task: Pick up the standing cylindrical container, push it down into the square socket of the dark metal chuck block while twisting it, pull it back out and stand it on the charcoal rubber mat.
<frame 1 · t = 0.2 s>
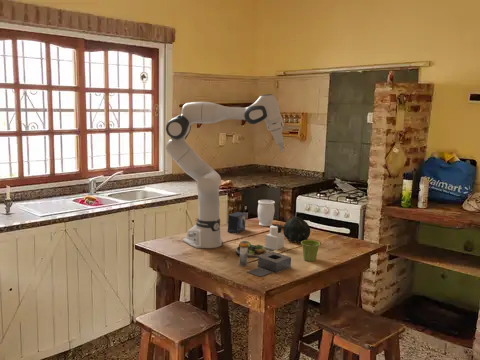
hand: (282, 151, 246), 52 cm above the table, tool tilted 20°, fingers open, 8 cm apart
mat: (259, 272, 218), on the table
squash: (296, 240, 269), on the table
jar: (265, 225, 300), on the table
cylindrical container: (243, 264, 228), on the table
chuck: (274, 267, 226), on the table
plant pot: (309, 260, 238), on the table
medicine bottle: (274, 247, 255), on the table
small box: (236, 231, 284), on the table
salad plate: (251, 253, 247), on the table
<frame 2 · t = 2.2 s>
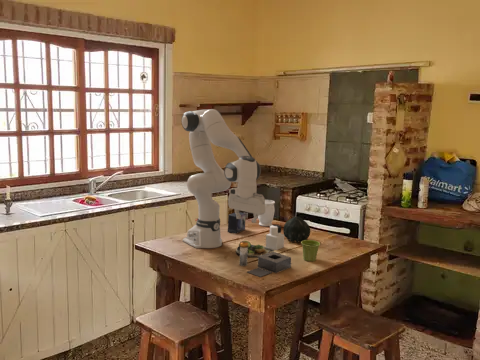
hand: (246, 220, 224), 22 cm above the table, tool pointing down, fingers open, 8 cm apart
nothing on the table moved.
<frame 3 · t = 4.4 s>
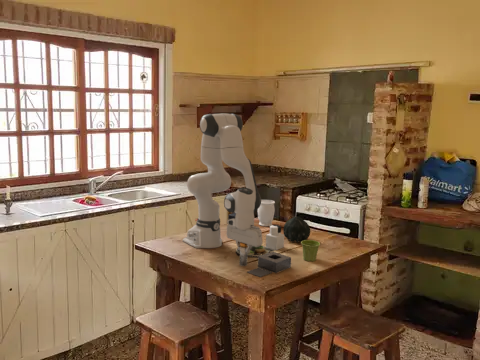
hand: (243, 251, 226), 7 cm above the table, tool pointing down, fingers closed on cylindrical container, 4 cm apart
cylindrical container: (243, 264, 228), on the table, touching gripper
everything else where it was.
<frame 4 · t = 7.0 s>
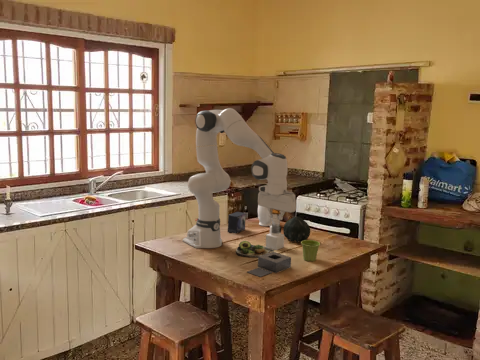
hand: (276, 218, 221), 24 cm above the table, tool pointing down, fingers closed on cylindrical container, 4 cm apart
cylindrical container: (275, 232, 222), point 17 cm above the table, touching gripper
everything else where it was.
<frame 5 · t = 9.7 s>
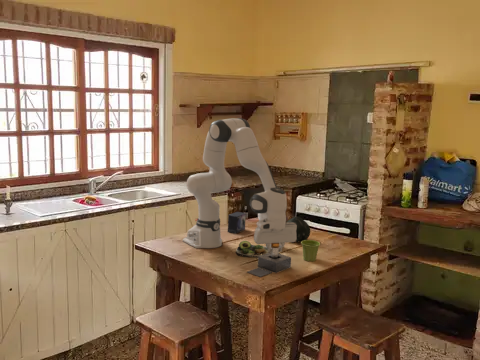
hand: (274, 251, 224), 8 cm above the table, tool pointing down, fingers closed on cylindrical container, 4 cm apart
cylindrical container: (274, 265, 225), point 1 cm above the table, touching gripper
everything else where it was.
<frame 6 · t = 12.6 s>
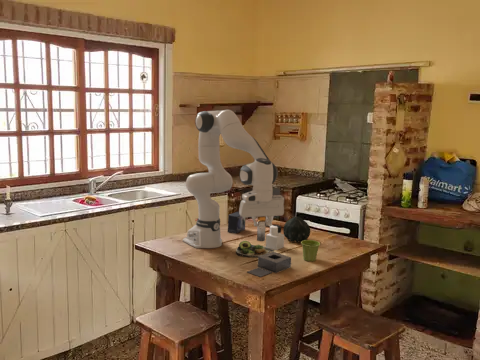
hand: (261, 225, 214), 22 cm above the table, tool pointing down, fingers closed on cylindrical container, 4 cm apart
cylindrical container: (260, 240, 215), point 15 cm above the table, touching gripper
everything else where it was.
when the fingers open (8 cm above the table, at t = 15.3 s): cylindrical container drops 1 cm, resting on mat.
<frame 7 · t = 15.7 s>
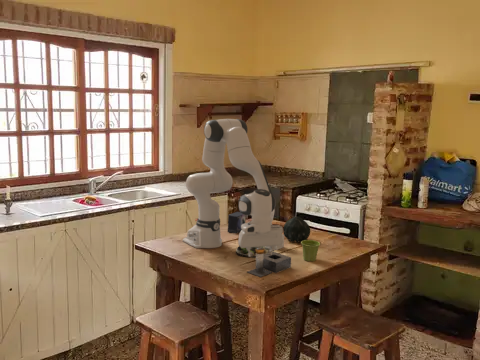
hand: (260, 255, 217), 8 cm above the table, tool pointing down, fingers open, 8 cm apart
cylindrical container: (259, 271, 218), resting on mat
everything else where it was.
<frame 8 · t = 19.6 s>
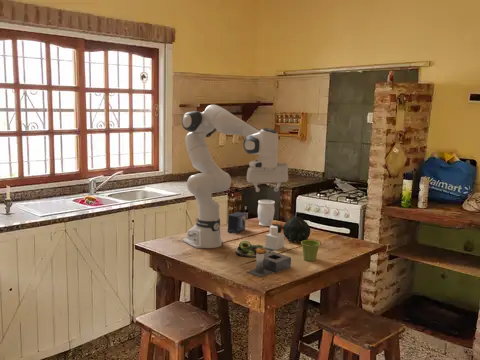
hand: (267, 191, 230), 34 cm above the table, tool pointing down, fingers open, 8 cm apart
nothing on the table moved.
at the end: cylindrical container inside the target area on the mat (0.0 cm from its centre), point 0.4 cm above the mat's base; cylindrical container tilted 0°; the gripper is holding nothing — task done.
